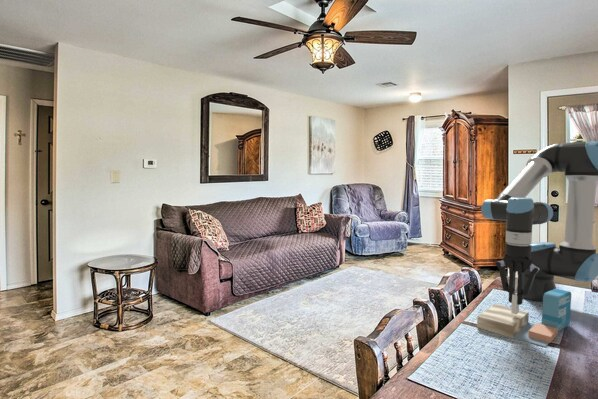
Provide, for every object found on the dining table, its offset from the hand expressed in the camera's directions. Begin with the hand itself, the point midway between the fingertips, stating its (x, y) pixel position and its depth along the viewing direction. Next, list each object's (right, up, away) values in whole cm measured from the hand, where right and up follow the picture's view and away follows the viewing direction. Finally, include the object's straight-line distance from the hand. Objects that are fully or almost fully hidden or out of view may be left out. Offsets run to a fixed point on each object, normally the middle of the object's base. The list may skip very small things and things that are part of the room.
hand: (515, 312), depth 126 cm
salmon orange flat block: (+6, -4, -6) cm, 9 cm away
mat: (+5, -6, -4) cm, 8 cm away
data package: (+15, -5, +1) cm, 16 cm away
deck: (-2, -5, +3) cm, 6 cm away
